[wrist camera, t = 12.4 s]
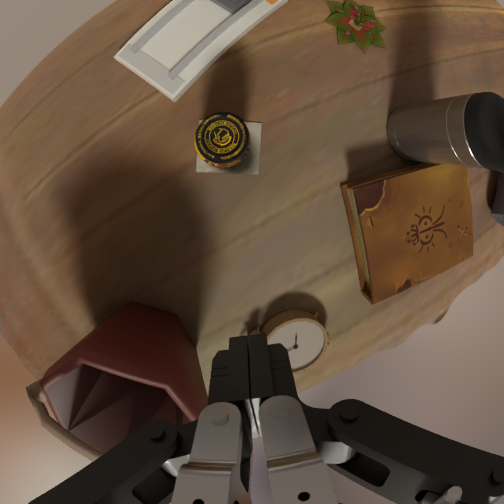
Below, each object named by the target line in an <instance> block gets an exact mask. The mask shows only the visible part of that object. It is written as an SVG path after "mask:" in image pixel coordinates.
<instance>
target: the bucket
mask: <svg viewBox="0 0 504 504" xmlns="http://www.w3.org/2000/svg"><path fill="white" fill-rule="evenodd" d="M26 390H27V393H28V397H29V399H30V401H31V403H32V405H33V407H34V409H35V411H36V412H37V414H38V416H39V418H40V421H41V424H42V426H43V427H44V428H45V429H47V430H48V431H49V432H50V433H52V434H53V435H54V436H55V437H57V438H58V439H60V440H61V441H62V442H63V443H65V444H66V445H68V446H69V447H70V448H72V449H74V450H75V451H76V452H78V453H80V454H81V455H83V456H84V457H86V458H88V459H90V460H91V461H95V460H96V459H98V458H99V457H101V456H102V455H103V454H105V453H106V452H108V451H109V450H110V449H112V448H113V447H115V446H116V445H117V444H119V443H120V442H121V441H123V440H124V439H126V438H127V437H128V436H130V435H131V434H132V433H134V432H135V431H136V430H138V429H139V428H140V427H142V426H143V425H144V424H146V423H147V422H149V421H152V420H155V419H164V420H168V421H170V422H172V423H173V424H174V425H175V426H179V425H182V424H186V423H189V422H192V421H194V420H196V419H198V418H199V415H200V413H201V412H202V410H203V409H204V408H206V407H207V405H208V396H207V393H206V389H205V385H204V380H203V376H202V372H201V368H200V364H199V359H198V355H197V350H196V348H195V346H194V345H193V343H192V341H191V340H190V338H189V336H188V334H187V333H186V331H185V329H184V328H183V326H182V324H181V322H180V321H179V319H178V317H177V315H176V314H174V313H171V312H167V311H163V310H160V309H156V308H153V307H149V306H146V305H143V304H139V303H136V302H133V301H131V302H130V303H128V304H127V305H125V306H124V307H123V308H121V309H120V310H119V311H117V312H116V313H115V314H113V315H112V316H110V317H109V318H108V319H106V320H105V321H104V322H102V323H101V324H100V325H99V326H98V327H96V328H95V329H94V330H93V331H92V332H91V333H89V334H88V335H87V336H86V337H85V338H83V339H82V340H81V341H80V342H79V343H78V344H76V345H75V346H74V347H73V348H72V349H71V350H69V351H68V352H67V353H66V354H65V355H64V356H63V357H61V358H60V359H59V360H58V361H57V362H56V363H55V364H53V365H52V366H51V367H50V368H49V369H48V370H47V372H46V373H45V375H44V376H43V378H42V379H41V380H38V381H37V382H34V383H33V384H31V385H29V386H28V387H26ZM46 401H47V402H48V404H49V406H50V408H51V410H52V412H53V413H54V416H55V418H56V419H57V421H58V423H57V422H56V421H55V420H54V419H52V418H51V417H50V416H49V413H48V411H47V408H46V407H45V405H44V402H46Z"/></svg>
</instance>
